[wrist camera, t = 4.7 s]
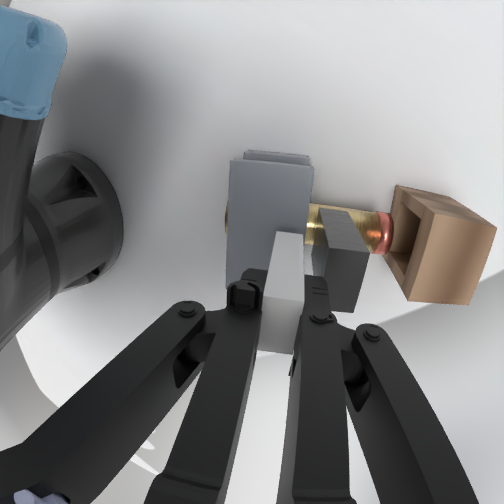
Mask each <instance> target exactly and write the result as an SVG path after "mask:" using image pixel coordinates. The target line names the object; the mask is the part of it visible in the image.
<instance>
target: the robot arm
mask: <svg viewBox="0 0 504 504" xmlns="http://www.w3.org/2000/svg"><path fill="white" fill-rule="evenodd" d="M66 51H67V39H66V35H65V33H64V31H63V29H62V28H61V27H60V26H59V25H58V24H56V23H54V22H52V21H49V20H46V19H44V18H41V17H38V16H35V15H32V14H29V13H25V12H22V11H19V10H16V9H12V8H9V7H5V6H1V5H0V351H1V350H2V349H3V347H4V346H5V345H6V344H7V343H8V342H9V341H10V340H11V339H12V338H13V337H14V336H15V335H16V334H17V332H18V331H19V330H20V329H21V328H22V327H23V326H24V325H25V324H26V323H27V322H28V321H29V320H30V319H31V318H32V317H33V316H34V315H35V314H36V313H37V312H38V311H39V310H40V309H41V308H42V307H43V306H44V305H45V304H46V303H47V302H48V301H50V300H51V299H52V298H53V297H54V296H55V295H56V294H58V293H61V292H64V291H67V290H70V289H73V288H76V287H79V286H82V285H85V284H88V283H90V282H93V281H94V280H96V279H98V278H99V277H100V276H101V275H102V274H104V273H105V272H106V271H107V270H108V269H109V268H110V267H111V266H112V265H113V264H114V262H115V261H116V259H117V257H118V255H119V252H120V249H121V245H122V239H123V222H122V215H121V210H120V206H119V203H118V199H117V197H116V194H115V192H114V190H113V188H112V186H111V184H110V182H109V180H108V179H107V177H106V176H105V175H104V173H103V172H102V171H101V170H100V168H99V167H98V166H97V165H96V164H94V163H93V162H92V161H91V160H89V159H88V158H86V157H84V156H82V155H80V154H77V153H73V152H63V153H58V154H55V155H51V156H48V157H45V158H43V159H41V160H40V161H38V162H37V163H36V164H34V165H33V163H34V158H35V154H36V149H37V145H38V141H39V137H40V134H41V130H42V126H43V123H44V120H45V117H47V116H48V113H49V110H50V107H51V105H52V100H51V96H52V92H53V89H54V86H55V83H56V80H57V77H58V74H59V72H60V69H61V66H62V63H63V61H64V58H65V55H66ZM257 350H261V351H268V352H276V353H283V354H291V355H292V354H293V351H294V355H293V359H292V364H291V367H290V372H289V376H290V388H289V399H288V410H287V420H286V430H285V439H284V448H283V457H282V465H281V473H280V480H279V488H278V495H277V502H276V504H357V503H356V501H355V500H354V499H353V498H352V497H351V495H350V488H349V448H348V428H347V412H346V406H347V409H348V412H349V414H350V417H351V420H352V423H353V425H354V428H355V431H356V433H357V436H358V439H359V442H360V445H361V448H362V450H363V453H364V456H365V459H366V462H367V464H368V468H369V471H370V474H371V476H372V479H373V482H374V485H375V488H376V491H377V494H378V497H379V501H380V504H479V502H478V500H477V498H476V495H475V493H474V491H473V488H472V486H471V484H470V482H469V480H468V478H467V476H466V473H465V471H464V469H463V467H462V465H461V463H460V460H459V458H458V457H457V454H456V452H455V450H454V448H453V446H452V444H451V443H450V441H449V439H448V437H447V435H446V433H445V431H444V429H443V427H442V425H441V424H440V422H439V420H438V418H437V416H436V414H435V412H434V411H433V409H432V407H431V405H430V404H429V402H428V400H427V398H426V397H425V395H424V393H423V391H422V390H421V388H420V386H419V384H418V383H417V381H416V379H415V378H414V376H413V374H412V373H411V371H410V369H409V368H408V366H407V364H406V363H405V361H404V359H403V358H402V356H401V355H400V353H399V351H398V350H397V348H396V347H395V345H394V344H393V342H392V340H391V339H390V337H389V336H388V334H387V333H386V332H385V331H384V330H383V329H382V328H381V327H379V326H377V325H374V324H366V323H365V324H361V325H359V326H358V327H357V328H356V331H355V330H352V329H349V328H346V327H344V326H341V325H340V324H338V323H337V319H336V317H335V315H334V314H333V313H331V306H330V299H329V292H328V285H327V282H326V281H325V280H324V278H323V277H320V276H312V275H305V274H304V246H303V234H295V233H288V232H280V231H277V232H276V236H275V241H274V246H273V251H272V256H271V261H270V265H269V270H261V269H254V268H248V269H247V270H245V271H244V272H243V273H242V276H241V279H240V281H235V282H233V283H230V284H229V286H228V287H227V306H226V308H224V309H221V310H217V311H205V308H204V307H203V305H202V304H200V303H198V302H195V301H181V302H178V303H176V304H174V305H173V306H172V307H171V308H169V309H168V310H167V311H166V312H165V313H164V314H163V315H162V316H160V317H159V318H158V319H157V320H156V321H155V322H154V323H153V324H151V325H150V326H149V327H148V328H147V329H146V330H145V331H144V332H143V333H141V334H140V335H139V336H138V337H137V338H136V339H135V340H134V341H132V342H131V343H130V344H129V345H128V346H127V347H126V348H125V349H124V350H122V351H121V352H120V353H119V354H118V355H117V356H116V357H115V358H114V359H113V360H111V361H110V362H109V363H108V364H107V365H106V366H105V367H104V368H103V369H102V370H100V371H99V372H98V373H97V374H96V375H95V376H94V377H93V378H92V379H91V380H89V381H88V382H87V383H86V384H85V385H84V386H83V387H82V388H81V389H80V390H79V391H77V392H76V393H75V394H74V395H73V396H72V397H71V398H70V399H69V400H68V401H67V402H66V403H64V404H63V405H62V406H61V407H60V408H59V409H58V410H57V411H56V412H55V413H54V414H53V415H51V416H50V417H49V418H48V419H47V420H46V421H45V422H44V423H43V424H42V425H41V426H40V427H39V428H38V429H37V430H35V432H33V433H32V434H31V435H30V436H29V437H28V438H27V439H26V440H25V441H24V442H23V443H21V444H18V445H16V446H13V447H11V448H8V449H6V450H3V451H0V504H90V503H91V502H92V501H93V500H94V499H96V497H98V496H99V495H100V494H101V492H102V491H103V490H104V489H105V488H106V487H107V486H108V484H109V483H110V482H111V481H112V480H113V478H114V477H115V476H116V475H117V474H118V473H119V471H120V470H121V469H122V468H123V467H124V465H125V464H126V463H127V462H128V461H129V460H130V458H131V457H132V456H133V455H134V454H135V452H136V451H137V450H138V449H139V448H140V446H141V445H142V444H143V443H144V442H145V440H146V439H147V438H148V437H149V435H150V434H151V433H152V432H153V431H154V429H155V428H156V427H157V426H158V424H159V423H160V422H161V421H162V419H163V418H164V417H165V415H166V414H167V413H168V412H169V411H170V409H171V408H172V407H173V406H174V404H175V403H176V402H177V401H178V399H179V398H180V397H181V396H182V394H183V393H184V392H185V390H186V389H187V388H188V387H189V385H190V384H191V383H192V381H193V380H194V379H195V378H196V376H197V375H198V374H199V372H200V371H201V370H202V371H201V374H200V377H199V379H198V382H197V385H196V387H195V390H194V392H193V395H192V398H191V400H190V403H189V406H188V408H187V411H186V414H185V416H184V419H183V421H182V424H181V427H180V429H179V432H178V435H177V437H176V440H175V443H174V445H173V448H172V451H171V453H170V456H169V459H168V461H167V464H166V466H165V469H164V470H163V472H162V473H160V474H158V475H157V476H156V477H155V479H154V480H153V482H152V484H151V486H150V489H149V491H148V494H147V496H146V499H145V501H144V504H224V502H225V498H226V494H227V489H228V485H229V480H230V476H231V472H232V468H233V464H234V459H235V454H236V450H237V446H238V441H239V436H240V432H241V427H242V423H243V418H244V413H245V409H246V404H247V399H248V394H249V390H250V384H251V380H252V375H253V370H254V365H255V360H256V352H257Z"/></svg>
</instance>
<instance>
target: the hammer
mask: <svg viewBox="0 0 504 504" xmlns="http://www.w3.org/2000/svg"><path fill="white" fill-rule="evenodd" d="M227 226H228V202H227V207H226V214H225V232H226V235H227ZM393 237H394V221H393V217H392V215H391V214H389V213H384V212H378V211H377V212H369V211H363V210H356V209H349V208H342V207H335V206H328V205H320V204H312V203H310V206H309V214H308V221H307V228H306V235H305V242H304V244H310V245H313V248H312V254H311V256H312V266H313V276H320V277H323V278H324V280H325V281H326V282H327V285H328V292H329V299H330V306H331V311H337V312H348V313H353V312H354V309H355V305H356V302H357V299H358V295H359V292H360V289H361V285H362V282H363V278H364V274H365V271H366V267H367V263H368V259H369V255H370V252H371V253H372V254H379V255H386V254H387V253H388V252H389V250H390V248H391V246H392V242H393Z"/></svg>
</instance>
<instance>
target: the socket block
mask: <svg viewBox="0 0 504 504" xmlns="http://www.w3.org/2000/svg"><path fill="white" fill-rule="evenodd" d="M390 214H391V215H392V217H393V221H394V237H393V242H392V246H391V248H390V250H389V252H388V253H387V254H386V255H383V257H384V259H385V260H386V262H387V264H388V266H389V267H390V269H391V271H392V273H393V275H394V276H395V278H396V280H397V282H398V284H399V286H400V287H401V289H402V291H403V293H404V295H405V297H406V299H407V301H414V302H427V303H441V304H457V305H469V303H470V300H471V298H472V296H473V294H474V291H475V289H476V287H477V284H478V282H479V279H480V277H481V274H482V272H483V269H484V266H485V264H486V261H487V258H488V255H489V252H490V249H491V246H492V243H493V240H494V237H495V234H496V230H497V227H495V226H494V225H492V224H491V223H490V222H488V221H487V220H485V219H484V218H482V217H481V216H479V215H478V214H476V213H475V212H473V211H472V210H470V209H468V208H467V207H465V206H464V205H462V204H460V203H459V202H457V201H456V200H454V199H452V198H451V197H447V196H443V195H439V194H435V193H431V192H426V191H422V190H417V189H413V188H408V187H403V186H398V185H396V187H395V192H394V197H393V202H392V207H391V212H390Z"/></svg>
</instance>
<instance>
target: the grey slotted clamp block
mask: <svg viewBox="0 0 504 504" xmlns="http://www.w3.org/2000/svg"><path fill="white" fill-rule="evenodd" d="M313 174H314V167H313V166H309V157H308V156H303V155H295V154H286V153H276V152H265V151H252V150H247V151H246V152H244V159H232V160H231V161H230V176H229V199H228V226H227V258H226V289H227V287H228V286H229V284H230V283H233V282H235V281H240V279H241V276H242V273H243V272H244V271H245V270H247V269H248V268H254V269H261V270H269V265H270V261H271V256H272V251H273V246H274V241H275V236H276V232H277V231H280V232H288V233H295V234H303V246H304V242H305V235H306V228H307V221H308V214H309V206H310V198H311V191H312V182H313Z"/></svg>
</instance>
